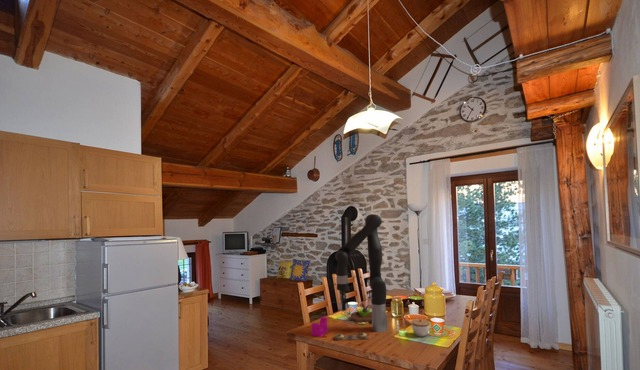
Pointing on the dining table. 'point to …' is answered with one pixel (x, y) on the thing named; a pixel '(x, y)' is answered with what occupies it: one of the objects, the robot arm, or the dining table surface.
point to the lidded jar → (420, 327)
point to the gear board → (351, 337)
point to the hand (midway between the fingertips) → (343, 308)
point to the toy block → (319, 327)
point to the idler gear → (341, 307)
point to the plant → (362, 315)
